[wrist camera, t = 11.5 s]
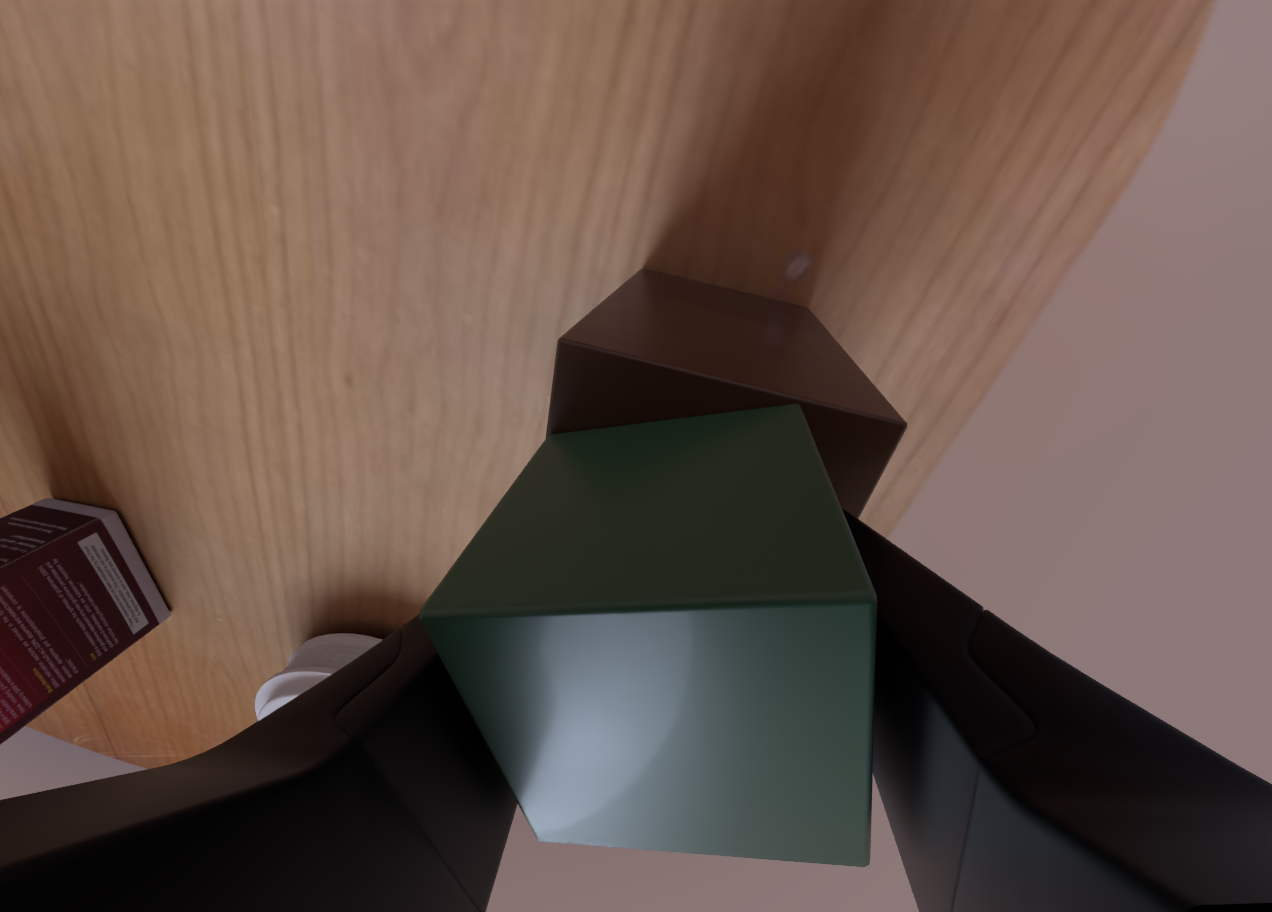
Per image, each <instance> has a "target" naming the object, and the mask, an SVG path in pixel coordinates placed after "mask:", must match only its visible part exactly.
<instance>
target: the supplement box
mask: <svg viewBox="0 0 1272 912" xmlns="http://www.w3.org/2000/svg"><path fill="white" fill-rule="evenodd" d="M170 615H171V614H170V612H169V610H168V608H167V606H166V604H165V602H164V600H163V599H162V597H161V595H160V593H159V591H158V589H157V587H156V585H155V583H154V582H153V580H152V578H151V576H150V574H149V572H148V571H147V569H146V567H145V565H144V563H143V561H142V559H141V558H140V556H139V554H138V552H137V550H136V548H135V546H134V544H133V543H132V541H131V539H130V537H129V535H128V533H127V531H126V529H125V527H124V525H123V523H122V522H121V520H120V518H119V516H118V514H117V512H115V511H113V510H108V509H104V508H99V507H94V506H89V505H84V504H79V503H73V502H68V501H63V500H57V499H51V498H46V499H43V500H41V501H38V502H36V503H34V504H32V505H30V506H28V507H26V508H23V509H21V510H18V511H16V512H13V513H11V514H9V515H7V516H5V517H3V518H0V744H1V743H3V742H4V741H6V740H7V739H8V738H10V737H11V736H12V735H14V734H15V733H16V732H17V731H19V730H20V729H21V728H23V727H24V726H25V725H27V724H28V723H29V722H31V721H32V720H33V719H35V718H36V717H37V716H39V715H40V714H41V713H43V712H44V711H45V710H46V709H48V708H49V707H50V706H52V705H53V704H54V703H56V702H57V701H58V700H60V699H61V698H62V697H64V696H65V695H66V694H68V693H69V692H70V691H72V690H73V689H74V688H76V687H77V686H78V685H80V684H81V683H82V682H84V681H85V680H86V679H88V678H89V677H90V676H92V675H93V674H94V673H95V672H97V671H98V670H99V669H101V668H102V667H103V666H105V665H106V664H107V663H109V662H110V661H112V660H113V659H114V658H115V657H117V656H118V655H119V654H121V653H122V652H123V651H125V650H126V649H127V648H129V647H130V646H131V645H133V644H134V643H135V642H137V641H138V640H139V639H141V638H142V637H143V636H145V635H146V634H147V633H149V632H150V631H151V630H152V629H153V628H155V627H156V626H158V625H159V624H160V623H162V622H163V621H164V620H166V619H167V618H168V617H169V616H170Z"/></svg>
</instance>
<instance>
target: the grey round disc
mask: <svg viewBox="0 0 1272 912" xmlns="http://www.w3.org/2000/svg"><path fill="white" fill-rule="evenodd" d="M381 641H382V639H378V638H374V637H370V636H365V635H359V634H349V633H335V634H326V635H322V636H317V637H315V638H312V639H310V640H308V641H306V642H305V643H303V644H302V645H300V646H299V647H298V649H297V650H296V651H295V652H294V653H293V654H292V656H291V658H290V660H289V663H288V666H287V667H286V669H285V670H284V671H282V672H280V673H277V674H275V675H274V676H272V677H271V678H269V679H268V680H267V681H266V682H265V683H264V684H263V685H262V687H261V688H260V690H259V691H258V693H257V696H256V699H255V710H256V715H257V718H258V721H259V720H261V719H262V718H264V717H266V716H267V715H269V714H270V713H272V712H273V711H275V710H277V709H278V708H280V707H281V706H283V705H284V704H286V703H288V702H289V701H291V700H292V699H294V698H295V697H297V696H299V695H300V694H302V693H303V692H305V691H307V690H308V689H310V688H311V687H313V686H314V685H316V684H318V683H319V682H321V681H322V680H324V679H325V678H327V677H328V676H330V675H331V674H333V673H335V672H336V671H338V670H339V669H341V668H342V667H344V666H345V665H347V664H348V663H350V662H352V661H353V660H354V659H356V658H357V657H359V656H360V655H362V654H363V653H365V652H366V651H368V650H369V649H370V648H372V647H373V646H375V645H376V644H378V643H379V642H381Z"/></svg>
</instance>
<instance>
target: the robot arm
mask: <svg viewBox="0 0 1272 912" xmlns="http://www.w3.org/2000/svg"><path fill="white" fill-rule="evenodd" d="M841 508H842V507H841ZM842 511H843V513H844V516H845V518H846V521H847V523H848V526H849V528H850V531H851V533H852V536H853V538H854V541H855V543H856V545H857V548H858V550H859V553H860V555H861V558H862V560H863V563H864V565H865V568H866V570H867V573H868V575H869V578H870V580H871V583H872V585H873V588H874V590H875V593H876V595H877V623H876V660H875V698H874V735H873V775H874V778H875V781H876V784H877V787H878V790H879V793H880V796H881V799H882V802H883V805H884V808H885V811H886V814H887V817H888V820H889V823H890V826H891V829H892V832H893V835H894V837H895V841H896V844H897V847H898V850H899V853H900V856H901V859H902V862H903V865H904V868H905V870H906V874H907V877H908V880H909V883H910V886H911V888H912V892H913V894H914V897H915V900H916V903H917V906H918V909H919V912H1272V784H1270V783H1269V782H1267V781H1265V780H1263V779H1261V778H1260V777H1258V776H1256V775H1254V774H1252V773H1251V772H1249V771H1247V770H1245V769H1243V768H1242V767H1240V766H1238V765H1237V764H1235V763H1233V762H1232V761H1230V760H1228V759H1226V758H1225V757H1223V756H1222V755H1220V754H1218V753H1216V752H1215V751H1213V750H1211V749H1210V748H1208V747H1206V746H1205V745H1203V744H1201V743H1200V742H1198V741H1196V740H1195V739H1193V738H1191V737H1190V736H1188V735H1186V734H1184V733H1183V732H1181V731H1179V730H1178V729H1176V728H1174V727H1172V726H1171V725H1169V724H1168V723H1166V722H1164V721H1163V720H1161V719H1159V718H1157V717H1156V716H1154V715H1152V714H1151V713H1149V712H1147V711H1146V710H1144V709H1142V708H1141V707H1139V706H1137V705H1136V704H1134V703H1132V702H1131V701H1129V700H1127V699H1126V698H1124V697H1122V696H1121V695H1119V694H1117V693H1116V692H1114V691H1112V690H1110V689H1109V688H1107V687H1105V686H1104V685H1102V684H1100V683H1099V682H1097V681H1096V680H1094V679H1092V678H1091V677H1089V676H1087V675H1086V674H1084V673H1083V672H1081V671H1079V670H1078V669H1076V668H1074V667H1073V666H1071V665H1070V664H1068V663H1066V662H1065V661H1063V660H1061V659H1060V658H1058V657H1056V656H1055V655H1053V654H1052V653H1050V652H1049V651H1047V650H1046V649H1044V648H1043V647H1041V646H1040V645H1038V644H1037V643H1035V642H1034V641H1032V640H1031V639H1029V638H1028V637H1026V636H1024V635H1023V634H1022V633H1020V632H1019V631H1017V630H1016V629H1014V628H1013V627H1011V626H1010V625H1008V624H1007V623H1005V622H1004V621H1003V620H1001V619H1000V618H999V617H997V616H996V615H994V614H993V613H991V612H990V611H988V610H984V609H983V607H982V606H981V605H980V604H978V603H977V602H975V601H974V600H973V599H971V598H970V597H968V596H967V595H965V594H964V593H963V592H961V591H960V590H958V589H957V588H955V587H954V586H953V585H951V584H950V583H948V582H947V581H945V580H944V579H943V578H941V577H940V576H938V575H937V574H936V573H934V572H933V571H931V570H930V569H928V568H927V567H926V566H924V565H922V564H921V563H920V562H918V561H917V560H916V559H914V558H913V557H911V556H910V555H908V554H907V553H906V552H904V551H903V550H901V549H900V548H898V547H897V546H896V545H894V544H892V543H891V542H890V541H889V540H887V539H886V538H884V537H883V536H881V535H880V534H879V533H877V532H876V531H874V530H873V529H871V528H870V527H869V526H867V525H866V524H864V523H863V522H862V521H860V520H859V519H857V518H856V517H854V516H853V515H852V514H850V513H849V512H847V511H846V510H844V509H843V508H842ZM983 610H984V611H983ZM517 804H518V803H517V801H516V799H515V797H514V795H513V793H512V791H511V790H510V788H509V786H508V784H507V782H506V780H505V778H504V776H503V775H502V773H501V771H500V769H499V767H498V765H497V763H496V761H495V760H494V758H493V756H492V754H491V752H490V750H489V748H488V746H487V744H486V743H485V741H484V739H483V737H482V735H481V733H480V731H479V729H478V728H477V726H476V724H475V722H474V720H473V718H472V716H471V714H470V713H469V711H468V709H467V707H466V705H465V703H464V701H463V699H462V698H461V696H460V694H459V692H458V690H457V688H456V686H455V684H454V683H453V681H452V679H451V677H450V675H449V673H448V671H447V669H446V668H445V666H444V664H443V662H442V660H441V658H440V656H439V654H438V653H437V651H436V649H435V647H434V645H433V643H432V641H431V639H430V638H429V636H428V634H427V632H426V630H425V628H424V626H423V624H422V623H421V621H420V617H419V615H417V616H416V617H415V618H413V619H412V620H410V621H409V622H407V623H406V624H405V625H404V626H403V628H399V629H397V630H396V631H395V632H393V633H392V634H390V635H389V636H388V637H386V638H385V639H383V640H382V641H381V642H379V643H378V644H376V645H375V646H373V647H372V648H370V649H369V650H368V651H366V652H365V653H363V654H362V655H360V656H359V657H357V658H356V659H354V660H353V661H352V662H350V663H348V664H347V665H345V666H344V667H342V668H341V669H339V670H338V671H336V672H335V673H333V674H331V675H330V676H328V677H327V678H325V679H324V680H322V681H321V682H319V683H318V684H316V685H314V686H313V687H311V688H310V689H308V690H307V691H305V692H303V693H302V694H300V695H299V696H297V697H295V698H294V699H292V700H291V701H289V702H288V703H286V704H284V705H283V706H281V707H280V708H278V709H277V710H275V711H273V712H272V713H270V714H269V715H267V716H266V717H264V718H262V719H261V720H259V721H258V722H256V723H254V724H253V725H251V726H250V727H248V728H247V729H245V730H243V731H242V732H240V733H239V734H237V735H235V736H234V737H232V738H230V739H229V740H227V741H225V742H224V743H222V744H220V745H218V746H216V747H214V748H212V749H210V750H208V751H206V752H203V753H201V754H198V755H196V756H194V757H191V758H189V759H186V760H183V761H179V762H176V763H173V764H170V765H166V766H162V767H157V768H152V769H148V770H143V771H138V772H134V773H128V774H124V775H119V776H114V777H109V778H105V779H100V780H95V781H90V782H85V783H80V784H76V785H71V786H66V787H61V788H57V789H51V790H47V791H42V792H37V793H32V794H28V795H23V796H18V797H13V798H8V799H4V800H0V912H486V909H487V905H488V902H489V898H490V895H491V892H492V888H493V885H494V882H495V878H496V874H497V872H498V868H499V865H500V861H501V858H502V854H503V851H504V848H505V844H506V841H507V838H508V834H509V831H510V827H511V824H512V821H513V817H514V814H515V811H516V807H517Z"/></svg>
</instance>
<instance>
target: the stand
mask: <svg viewBox="0 0 1272 912" xmlns="http://www.w3.org/2000/svg"><path fill="white" fill-rule="evenodd" d="M789 404H798V405H800V407H801V409H802V411H803V414H804V416H805V419H806V421H807V424H808V426H809V429H810V431H811V434H812V436H813V439H814V441H815V444H816V446H817V448H818V451H819V453H820V456H821V458H822V461H823V463H824V466H825V468H826V471H827V473H828V476H829V478H830V481H831V483H832V486H833V488H834V491H835V493H836V496H837V498H838V501H839V503H840V506H841V507H842V508H843V509H844V510H846V511H847V512H849V513H850V514H852V515H853V516H854V517H856V518H857V519H858V518H859V516H860V514H861V513H862V511H863V509H864V507H865V505H866V503H867V501H868V499H869V498H870V496H871V494H872V492H873V490H874V488H875V486H876V484H877V483H878V481H879V479H880V477H881V475H882V473H883V471H884V470H885V468H886V466H887V464H888V462H889V460H890V458H891V456H892V455H893V453H894V451H895V449H896V447H897V445H898V443H899V441H900V440H901V438H902V436H903V434H904V432H905V430H906V428H907V423H906V422H905V421H904V419H903V418H902V417H901V416H900V415H899V414H898V412H897V411H896V410H895V409H894V408H893V407H892V405H891V404H890V403H889V402H888V401H887V400H886V398H885V397H884V396H883V395H882V394H881V393H880V391H879V390H878V389H877V388H876V387H875V386H874V384H873V383H872V382H871V381H870V380H869V379H868V377H867V376H866V375H865V374H864V373H863V371H862V370H861V369H860V368H859V367H858V366H857V364H856V363H855V362H854V361H853V360H852V359H851V357H850V356H849V355H848V354H847V353H846V352H845V350H844V349H843V348H842V347H841V346H840V345H839V343H838V342H837V341H836V340H835V339H834V338H833V336H832V335H831V334H830V333H829V332H828V331H827V329H826V328H825V327H824V326H823V325H822V324H821V322H820V321H819V320H818V319H817V318H816V316H815V315H814V314H813V313H812V312H811V311H810V309H809V308H807V307H803V306H798V305H794V304H790V303H786V302H782V301H777V300H773V299H769V298H765V297H761V296H756V295H752V294H748V293H744V292H740V291H735V290H731V289H727V288H723V287H719V286H714V285H710V284H706V283H702V282H698V281H693V280H689V279H685V278H681V277H677V276H672V275H668V274H664V273H660V272H656V271H652V270H647V269H641V270H639V271H638V272H637V273H636V274H635V275H633V276H632V277H631V278H630V279H629V280H628V281H626V282H625V283H624V284H623V285H622V286H620V287H619V288H618V289H617V290H616V291H615V292H613V293H612V294H611V295H610V296H609V297H607V298H606V299H605V300H604V301H603V302H602V303H600V304H599V305H598V306H597V307H596V308H594V309H593V310H592V311H591V312H590V313H589V314H587V315H586V316H585V317H584V318H583V319H581V320H580V321H579V322H578V323H577V324H576V325H574V326H573V327H572V328H571V329H570V330H568V331H567V332H566V333H565V334H564V335H563V336H561V337H560V338H559V340H558V342H557V350H556V358H555V366H554V375H553V383H552V391H551V399H550V407H549V416H548V424H547V432H546V438H547V437H548V436H549V435H551V434H559V433H567V432H575V431H583V430H591V429H599V428H607V427H615V426H622V425H630V424H638V423H646V422H654V421H662V420H670V419H678V418H686V417H694V416H702V415H710V414H718V413H726V412H734V411H742V410H750V409H758V408H765V407H773V406H781V405H789Z"/></svg>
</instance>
